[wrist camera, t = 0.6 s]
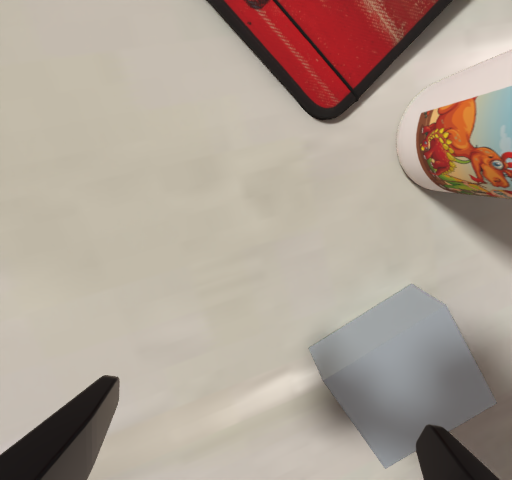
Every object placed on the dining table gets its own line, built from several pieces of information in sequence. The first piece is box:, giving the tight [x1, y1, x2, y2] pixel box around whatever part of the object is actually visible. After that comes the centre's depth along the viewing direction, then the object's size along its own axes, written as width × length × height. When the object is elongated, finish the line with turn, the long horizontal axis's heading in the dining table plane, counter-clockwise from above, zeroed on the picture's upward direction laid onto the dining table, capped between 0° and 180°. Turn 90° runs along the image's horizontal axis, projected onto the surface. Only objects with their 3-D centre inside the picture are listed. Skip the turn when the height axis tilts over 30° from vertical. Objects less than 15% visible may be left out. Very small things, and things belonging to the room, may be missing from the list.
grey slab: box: [309, 284, 497, 469], centre depth 24 cm, size 10×10×4 cm
